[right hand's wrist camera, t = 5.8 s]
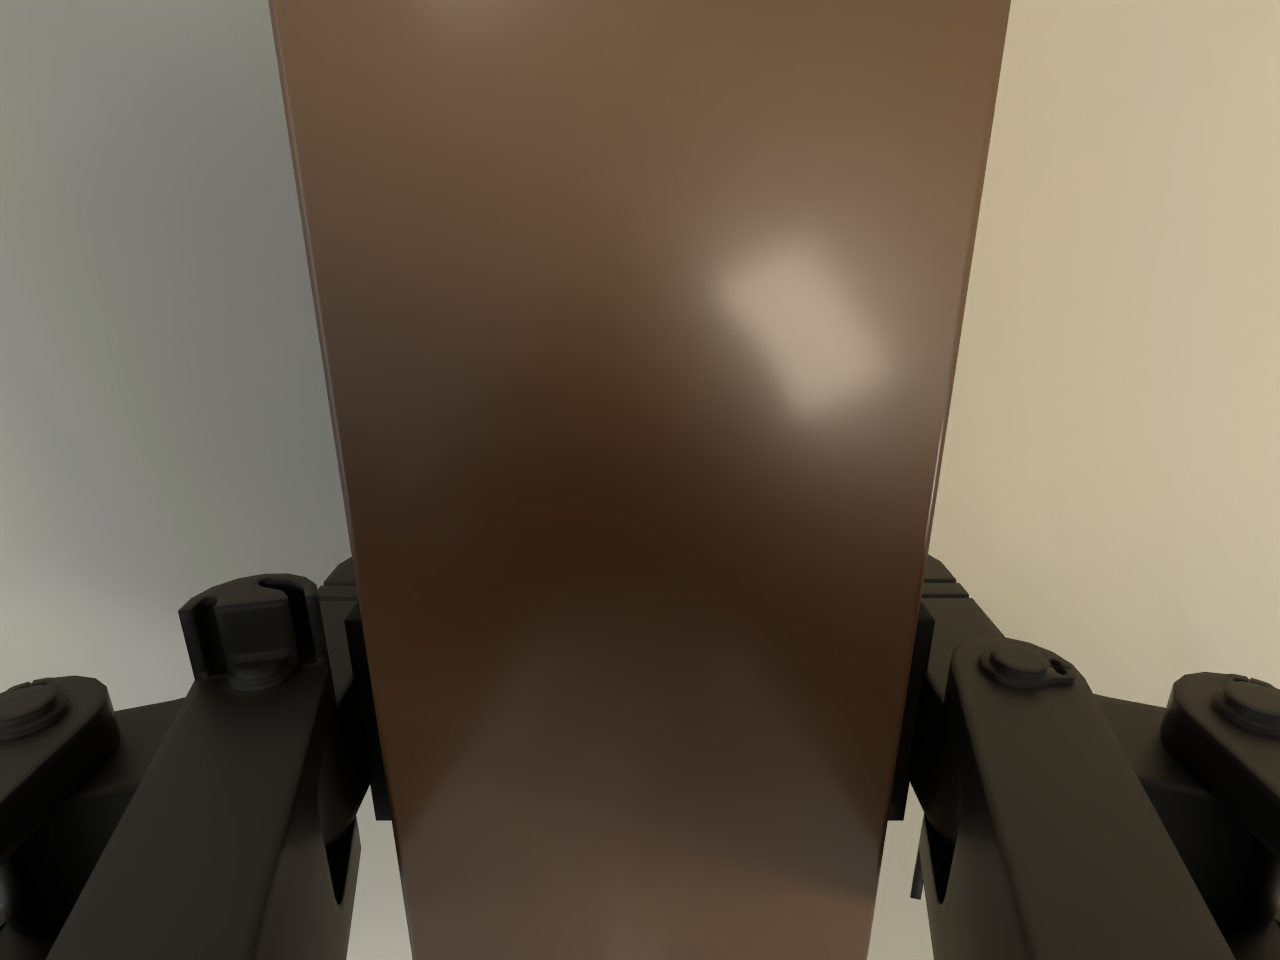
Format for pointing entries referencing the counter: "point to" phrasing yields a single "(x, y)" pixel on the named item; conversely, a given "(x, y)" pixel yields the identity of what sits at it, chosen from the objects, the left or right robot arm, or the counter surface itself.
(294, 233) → the counter surface
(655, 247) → the bar
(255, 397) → the counter surface
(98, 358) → the counter surface
